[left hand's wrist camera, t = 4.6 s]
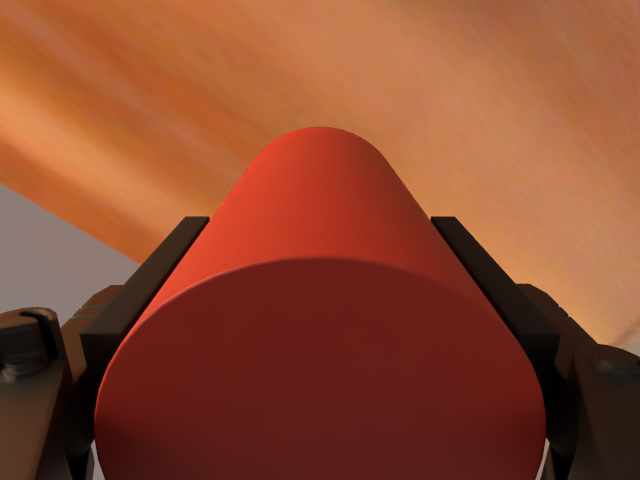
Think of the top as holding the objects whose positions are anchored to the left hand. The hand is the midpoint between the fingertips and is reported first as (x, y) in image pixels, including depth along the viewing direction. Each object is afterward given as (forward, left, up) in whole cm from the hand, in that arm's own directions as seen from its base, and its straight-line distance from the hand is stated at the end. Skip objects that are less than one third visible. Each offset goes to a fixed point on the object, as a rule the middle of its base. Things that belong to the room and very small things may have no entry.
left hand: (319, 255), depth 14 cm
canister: (0, 0, -5) cm, 5 cm away
